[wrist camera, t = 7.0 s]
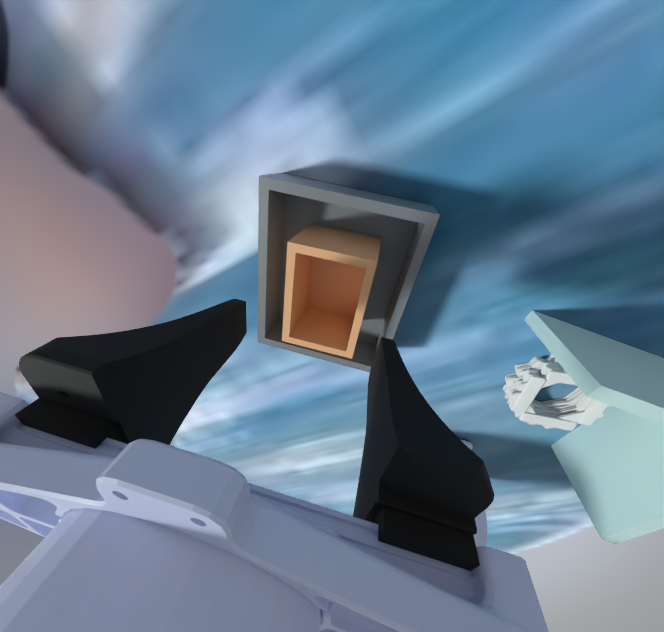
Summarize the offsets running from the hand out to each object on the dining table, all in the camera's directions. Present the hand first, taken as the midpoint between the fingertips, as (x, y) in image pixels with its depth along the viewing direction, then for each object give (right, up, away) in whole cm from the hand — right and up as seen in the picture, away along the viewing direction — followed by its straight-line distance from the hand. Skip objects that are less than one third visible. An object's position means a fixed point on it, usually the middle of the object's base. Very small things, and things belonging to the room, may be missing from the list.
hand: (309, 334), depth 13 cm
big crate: (+2, +4, +7) cm, 8 cm away
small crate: (+2, +4, +7) cm, 8 cm away
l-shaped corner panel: (+20, -5, +9) cm, 22 cm away
